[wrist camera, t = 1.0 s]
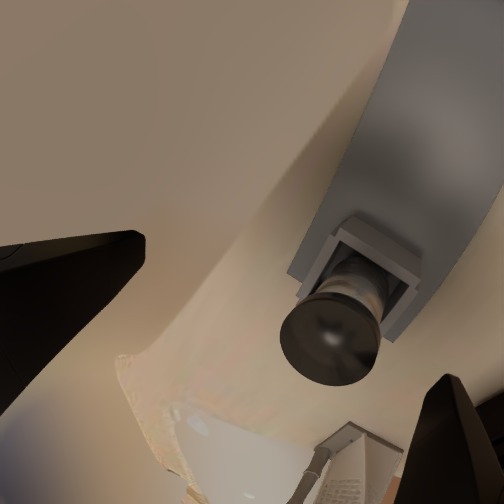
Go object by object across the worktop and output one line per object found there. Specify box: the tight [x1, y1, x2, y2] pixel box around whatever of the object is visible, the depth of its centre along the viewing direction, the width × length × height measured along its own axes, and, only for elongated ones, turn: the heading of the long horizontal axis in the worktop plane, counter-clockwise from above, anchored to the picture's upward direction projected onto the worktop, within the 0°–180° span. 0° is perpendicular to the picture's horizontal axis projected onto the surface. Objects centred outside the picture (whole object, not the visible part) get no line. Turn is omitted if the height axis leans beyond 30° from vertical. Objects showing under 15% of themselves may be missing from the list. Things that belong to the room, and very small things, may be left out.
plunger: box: [280, 257, 389, 386], centre depth 14 cm, size 4×4×6 cm
